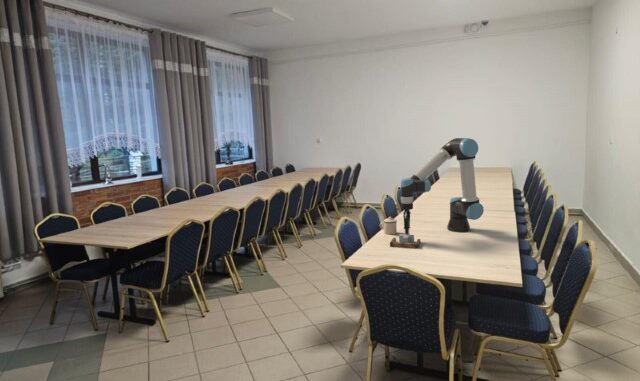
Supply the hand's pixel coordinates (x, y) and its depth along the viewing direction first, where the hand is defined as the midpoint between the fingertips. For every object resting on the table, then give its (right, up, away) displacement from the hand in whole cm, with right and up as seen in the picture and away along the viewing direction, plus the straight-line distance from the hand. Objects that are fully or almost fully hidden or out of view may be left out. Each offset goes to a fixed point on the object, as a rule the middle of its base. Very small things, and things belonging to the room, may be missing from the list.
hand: (407, 238), depth 259 cm
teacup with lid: (-8, +1, +22) cm, 24 cm away
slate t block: (-2, -2, -4) cm, 5 cm away
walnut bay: (-3, -3, -7) cm, 8 cm away
